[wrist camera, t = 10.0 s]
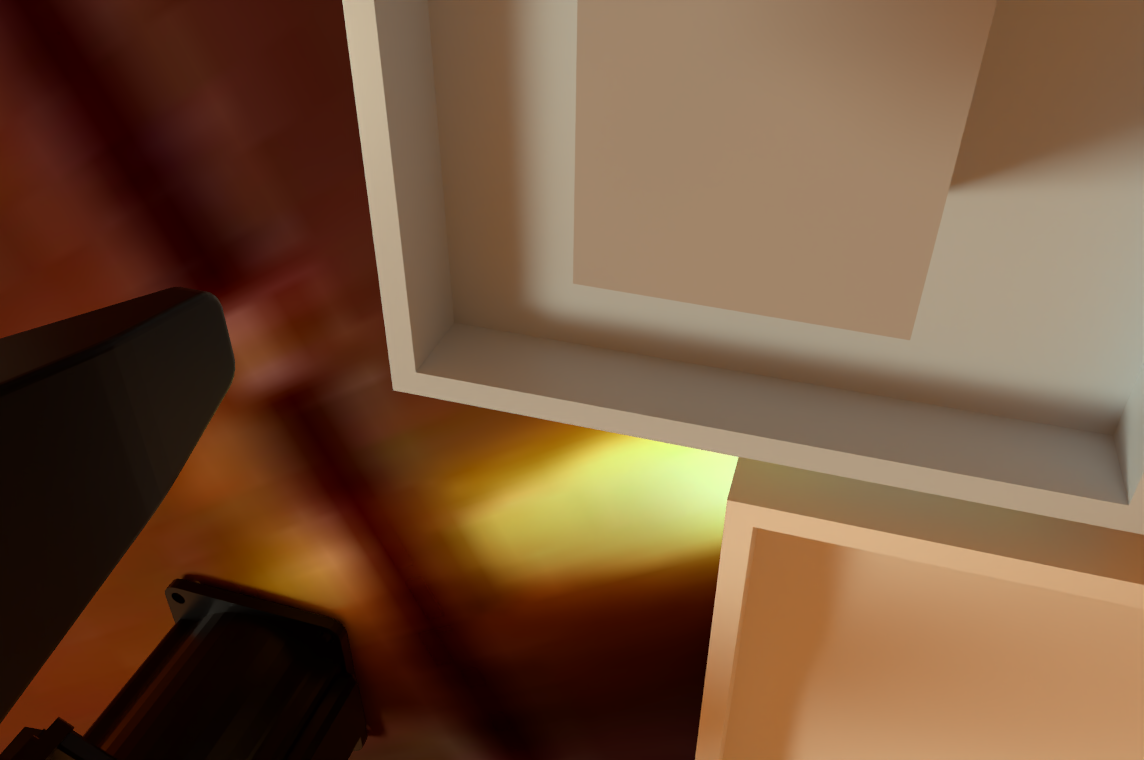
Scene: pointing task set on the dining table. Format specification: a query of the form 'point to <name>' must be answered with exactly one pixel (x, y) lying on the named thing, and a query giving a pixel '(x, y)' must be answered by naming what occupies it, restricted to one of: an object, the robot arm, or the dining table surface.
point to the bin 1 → (766, 344)
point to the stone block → (771, 151)
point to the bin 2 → (917, 628)
